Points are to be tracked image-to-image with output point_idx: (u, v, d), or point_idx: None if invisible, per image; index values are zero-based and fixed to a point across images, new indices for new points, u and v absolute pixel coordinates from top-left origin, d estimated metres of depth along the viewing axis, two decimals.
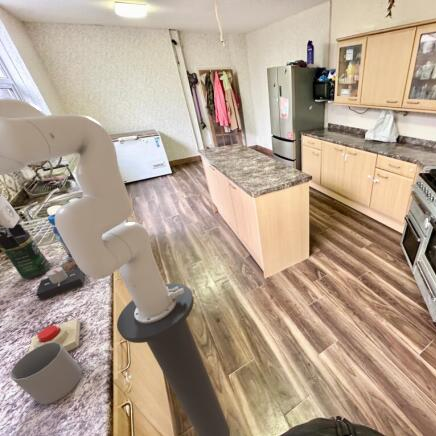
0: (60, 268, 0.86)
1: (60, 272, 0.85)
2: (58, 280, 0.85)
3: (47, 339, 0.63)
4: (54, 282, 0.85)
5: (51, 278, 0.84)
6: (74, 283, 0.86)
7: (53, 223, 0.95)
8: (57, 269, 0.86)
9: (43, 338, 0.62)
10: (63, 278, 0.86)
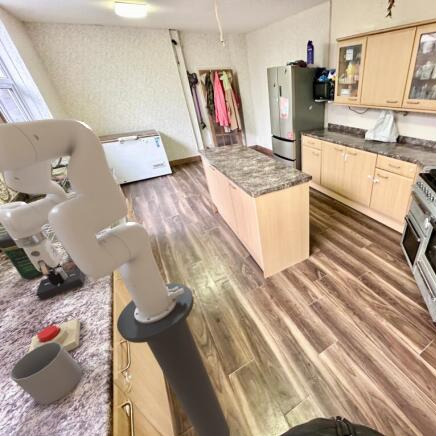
0: (60, 268, 0.86)
1: (60, 272, 0.85)
2: None
3: (47, 339, 0.63)
4: None
5: None
6: (74, 283, 0.86)
7: None
8: (57, 269, 0.86)
9: (43, 338, 0.62)
10: (63, 278, 0.86)
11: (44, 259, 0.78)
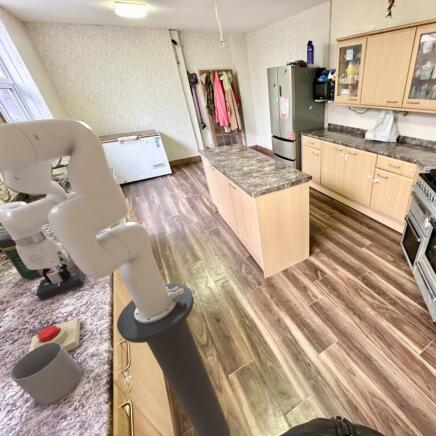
0: (52, 274, 0.83)
1: (47, 275, 0.84)
2: None
3: (47, 339, 0.63)
4: None
5: None
6: (74, 283, 0.86)
7: None
8: (54, 272, 0.84)
9: (43, 338, 0.62)
10: None
11: None
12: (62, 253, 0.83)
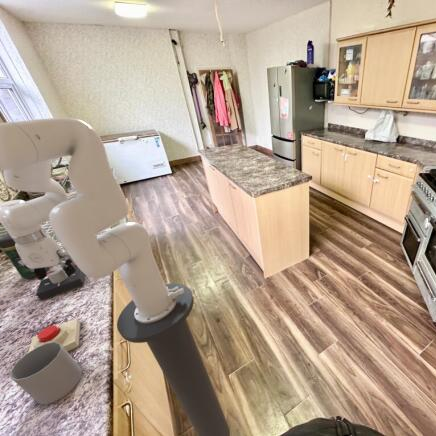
0: (52, 274, 0.83)
1: (47, 275, 0.84)
2: None
3: (47, 339, 0.63)
4: None
5: None
6: (74, 283, 0.86)
7: None
8: (54, 272, 0.84)
9: (43, 338, 0.62)
10: None
11: None
12: None
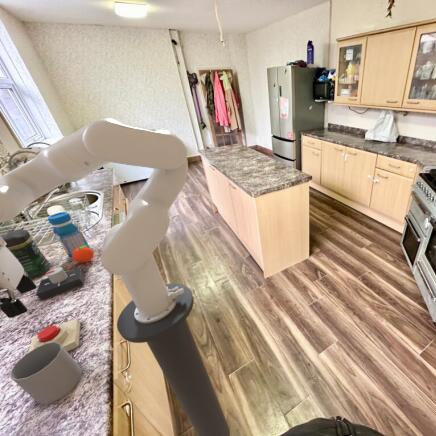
0: (52, 274, 0.83)
1: (47, 275, 0.84)
2: None
3: (47, 339, 0.63)
4: None
5: None
6: (74, 283, 0.86)
7: (53, 223, 0.95)
8: (54, 272, 0.84)
9: (43, 338, 0.62)
10: None
11: None
12: (1, 284, 0.52)
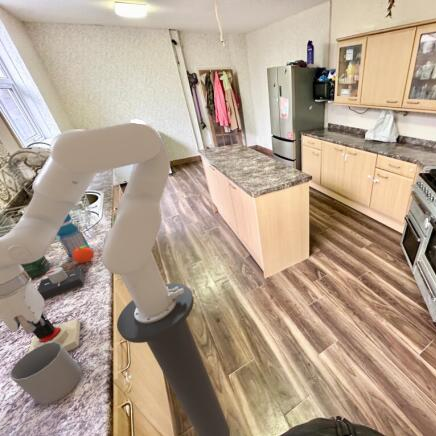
0: (52, 274, 0.83)
1: (47, 275, 0.84)
2: None
3: None
4: None
5: None
6: (74, 283, 0.86)
7: None
8: (54, 272, 0.84)
9: (44, 340, 0.63)
10: None
11: None
12: (27, 317, 0.56)
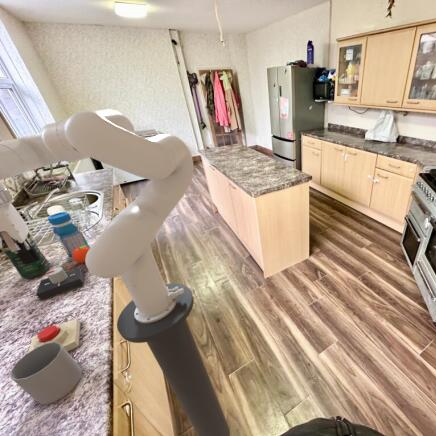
0: (52, 274, 0.83)
1: (47, 275, 0.84)
2: None
3: (47, 339, 0.63)
4: None
5: None
6: (74, 283, 0.86)
7: (53, 223, 0.95)
8: (54, 272, 0.84)
9: (43, 338, 0.62)
10: None
11: None
12: (11, 234, 0.57)
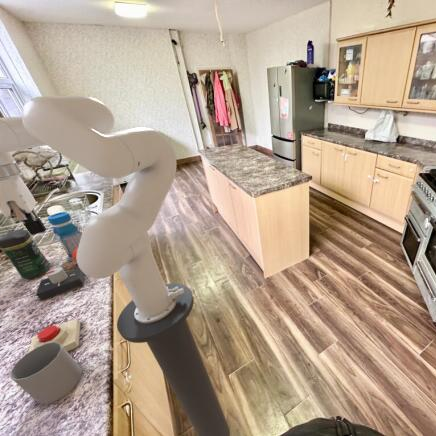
0: (52, 274, 0.83)
1: (47, 275, 0.84)
2: None
3: (47, 339, 0.63)
4: None
5: None
6: (74, 283, 0.86)
7: (53, 223, 0.95)
8: (54, 272, 0.84)
9: (43, 338, 0.62)
10: None
11: None
12: (19, 204, 0.61)
